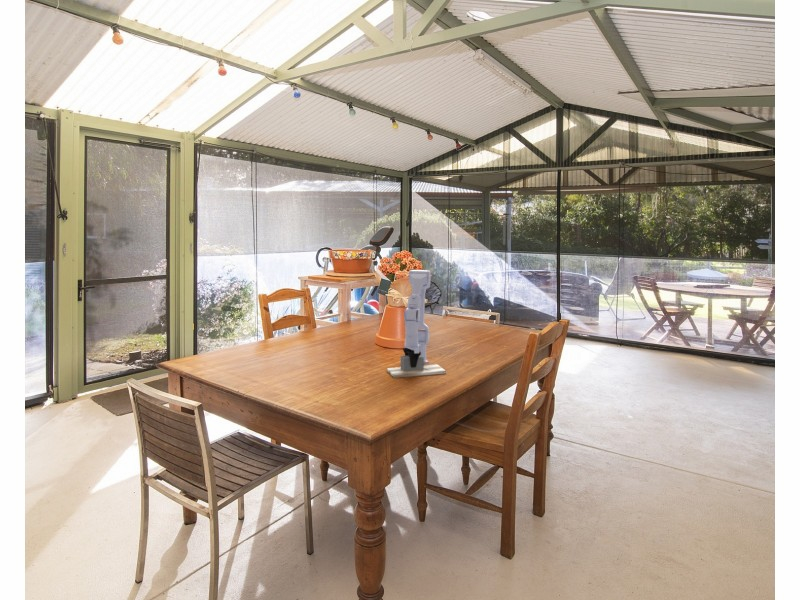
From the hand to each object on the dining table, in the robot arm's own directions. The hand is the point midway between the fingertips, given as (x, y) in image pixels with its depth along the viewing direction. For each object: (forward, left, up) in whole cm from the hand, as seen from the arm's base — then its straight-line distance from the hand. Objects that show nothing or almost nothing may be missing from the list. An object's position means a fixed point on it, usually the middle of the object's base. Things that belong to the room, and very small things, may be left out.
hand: (411, 365), depth 217 cm
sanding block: (0, 0, -2) cm, 2 cm away
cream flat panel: (0, +2, -3) cm, 4 cm away
